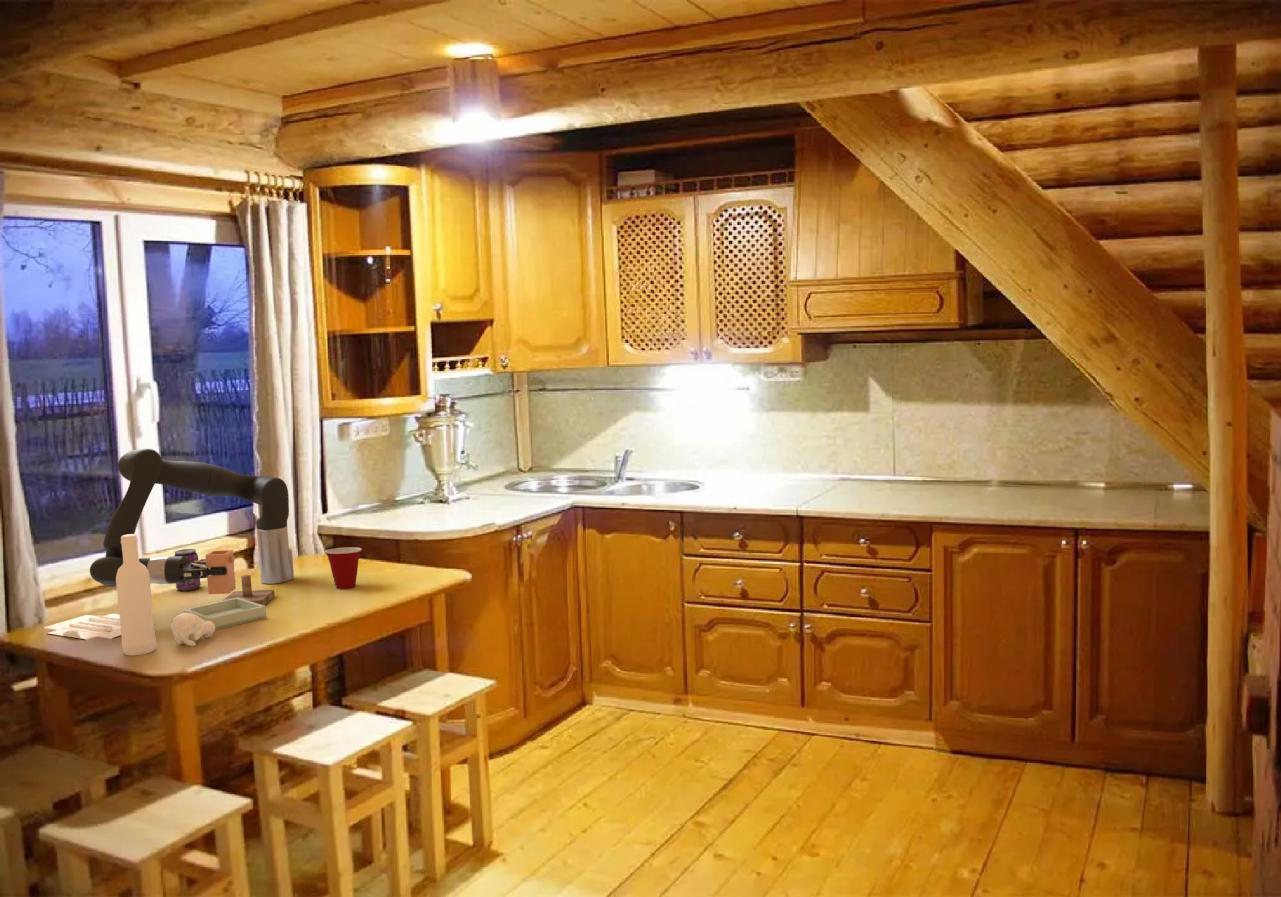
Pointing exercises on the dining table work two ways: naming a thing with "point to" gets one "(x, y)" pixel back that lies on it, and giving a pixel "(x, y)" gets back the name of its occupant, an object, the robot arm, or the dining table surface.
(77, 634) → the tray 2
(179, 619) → the animal figurine
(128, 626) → the bottle
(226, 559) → the sleeve
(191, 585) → the beverage can
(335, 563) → the plastic cup
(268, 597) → the stand
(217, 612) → the tray
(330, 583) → the dining table surface
